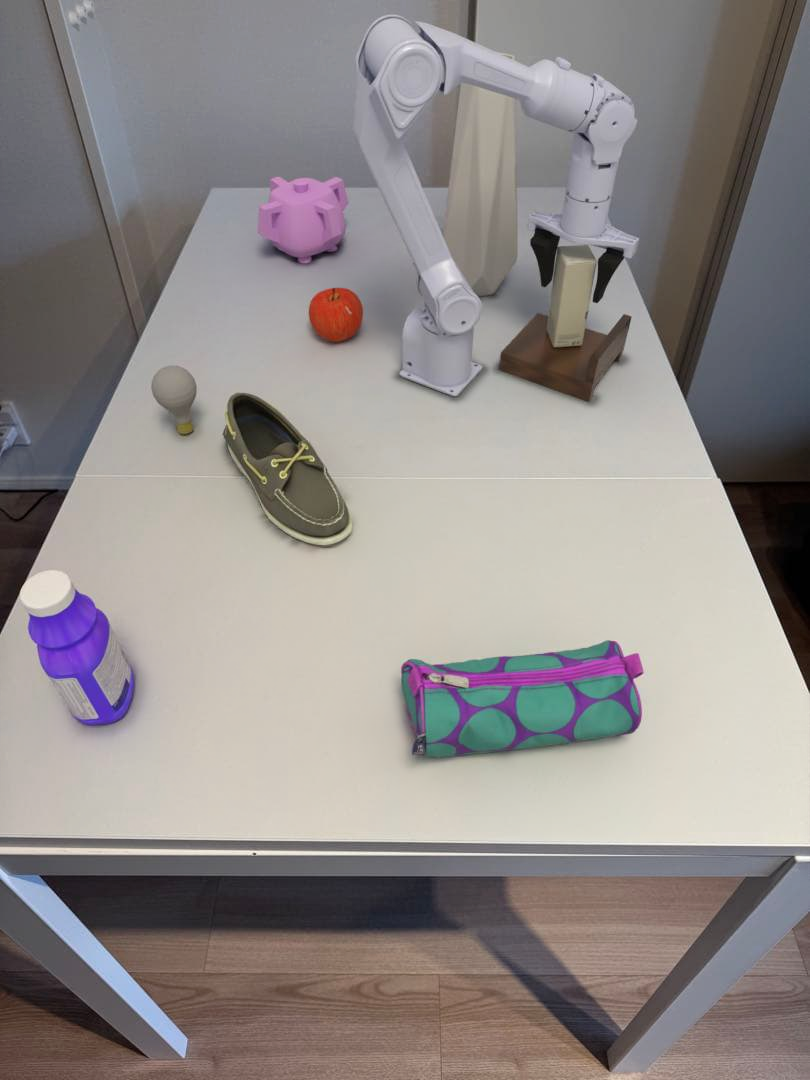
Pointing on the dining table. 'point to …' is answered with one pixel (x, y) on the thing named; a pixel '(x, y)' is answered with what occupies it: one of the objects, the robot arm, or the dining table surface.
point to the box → (570, 295)
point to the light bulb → (176, 394)
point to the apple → (336, 314)
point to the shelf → (564, 357)
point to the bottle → (77, 649)
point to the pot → (304, 216)
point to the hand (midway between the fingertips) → (571, 291)
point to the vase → (483, 188)
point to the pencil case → (522, 700)
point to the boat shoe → (285, 472)
